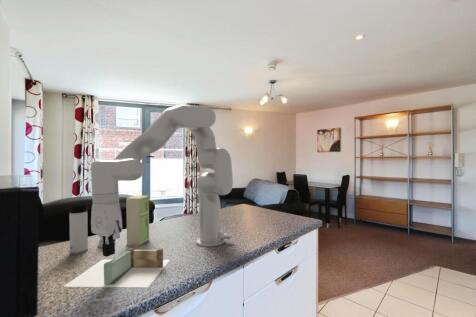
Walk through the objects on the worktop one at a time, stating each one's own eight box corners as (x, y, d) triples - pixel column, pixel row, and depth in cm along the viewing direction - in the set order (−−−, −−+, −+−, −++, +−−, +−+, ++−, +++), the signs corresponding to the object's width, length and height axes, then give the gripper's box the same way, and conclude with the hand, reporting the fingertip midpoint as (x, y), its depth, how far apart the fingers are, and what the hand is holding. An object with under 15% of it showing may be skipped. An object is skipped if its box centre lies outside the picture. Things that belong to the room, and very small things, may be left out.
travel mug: (68, 256, 99) (68, 206, 99) (71, 251, 105) (70, 203, 105) (87, 253, 102) (86, 204, 102) (88, 248, 107) (87, 202, 107)
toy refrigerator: (141, 245, 109) (140, 198, 109) (126, 245, 111) (125, 198, 111) (151, 240, 117) (150, 195, 117) (137, 239, 119) (136, 195, 119)
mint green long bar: (127, 267, 87) (126, 249, 87) (131, 267, 86) (130, 250, 86) (104, 284, 75) (103, 264, 75) (108, 284, 75) (108, 264, 75)
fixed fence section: (163, 265, 88) (162, 248, 88) (161, 267, 86) (161, 250, 86) (129, 265, 89) (129, 248, 89) (127, 267, 87) (127, 250, 87)
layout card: (170, 260, 93) (170, 259, 93) (148, 288, 73) (148, 287, 73) (102, 260, 94) (102, 259, 94) (62, 287, 74) (62, 286, 74)
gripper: (81, 199, 80) (84, 255, 81) (109, 202, 73) (112, 263, 73) (103, 195, 87) (106, 247, 87) (131, 197, 80) (134, 254, 80)
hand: (109, 254), depth 80 cm, fingers closed
